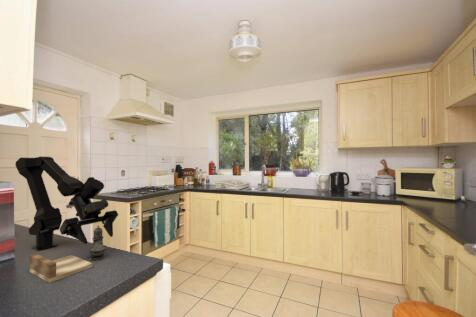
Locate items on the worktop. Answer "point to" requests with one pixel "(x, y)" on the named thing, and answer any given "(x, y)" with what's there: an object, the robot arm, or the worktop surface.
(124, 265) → the worktop surface
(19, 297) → the worktop surface
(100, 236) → the grey tall rounded piece
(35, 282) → the worktop surface
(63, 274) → the board
